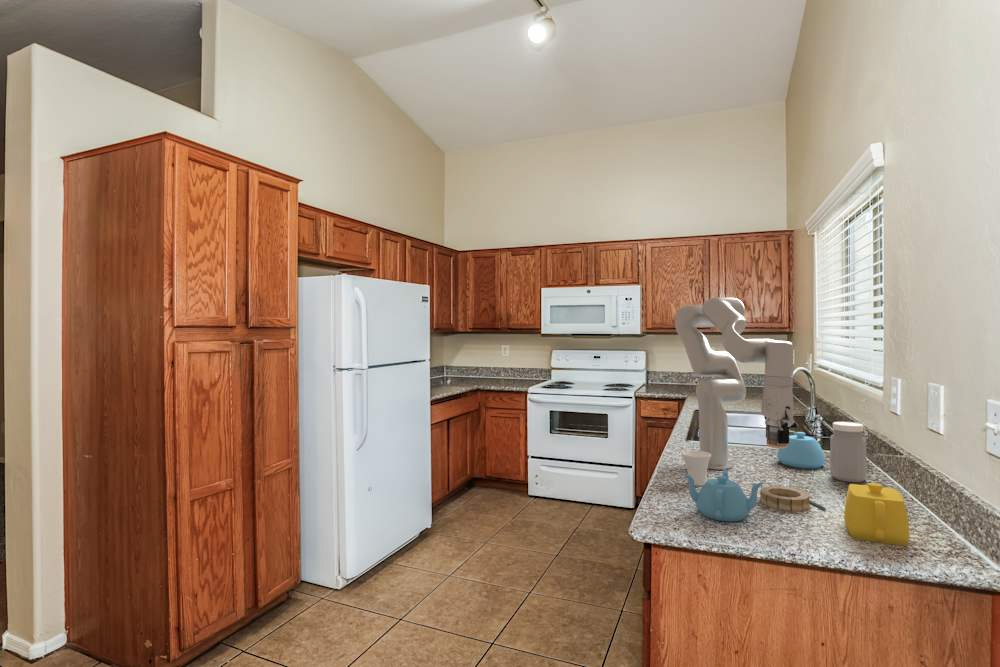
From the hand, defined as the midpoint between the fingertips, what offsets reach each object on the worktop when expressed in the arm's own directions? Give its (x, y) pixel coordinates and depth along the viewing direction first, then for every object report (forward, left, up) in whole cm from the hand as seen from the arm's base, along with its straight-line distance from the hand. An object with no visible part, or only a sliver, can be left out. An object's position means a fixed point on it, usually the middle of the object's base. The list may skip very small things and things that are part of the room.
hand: (777, 440), depth 159 cm
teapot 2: (+33, +5, -16) cm, 37 cm away
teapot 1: (+19, -26, -16) cm, 35 cm away
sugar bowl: (-29, +25, -16) cm, 42 cm away
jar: (-10, +29, -16) cm, 35 cm away
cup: (-8, -22, -16) cm, 28 cm away
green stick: (+12, +3, -15) cm, 20 cm away
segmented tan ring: (+12, -5, -15) cm, 20 cm away
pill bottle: (0, 0, -2) cm, 2 cm away
